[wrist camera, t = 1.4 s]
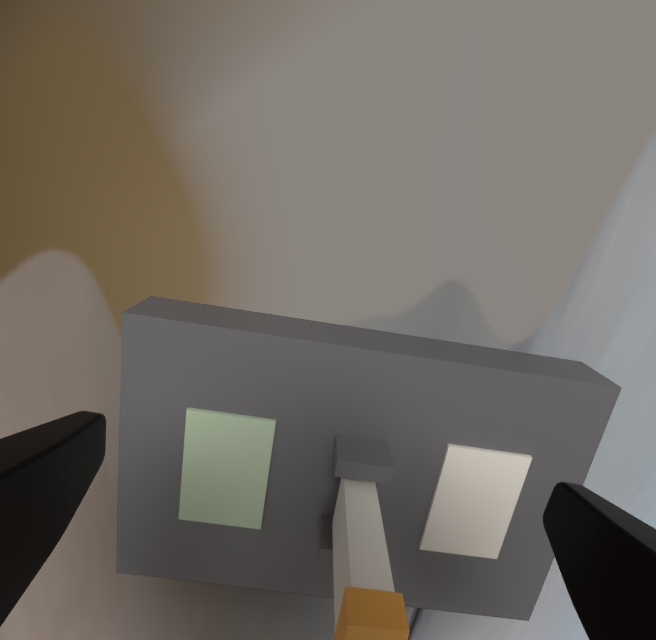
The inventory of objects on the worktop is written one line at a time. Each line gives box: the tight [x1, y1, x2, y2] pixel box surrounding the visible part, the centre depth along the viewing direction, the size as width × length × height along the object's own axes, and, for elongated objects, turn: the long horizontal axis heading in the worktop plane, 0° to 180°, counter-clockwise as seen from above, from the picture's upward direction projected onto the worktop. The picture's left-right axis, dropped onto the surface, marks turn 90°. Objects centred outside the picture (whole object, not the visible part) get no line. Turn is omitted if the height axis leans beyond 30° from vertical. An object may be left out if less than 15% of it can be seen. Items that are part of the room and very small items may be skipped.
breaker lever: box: [332, 478, 410, 640], centre depth 16 cm, size 3×2×8 cm, turn 171°
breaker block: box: [116, 296, 621, 621], centre depth 20 cm, size 14×22×5 cm, turn 81°
